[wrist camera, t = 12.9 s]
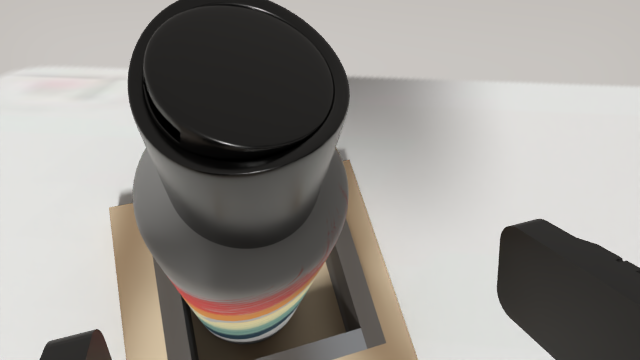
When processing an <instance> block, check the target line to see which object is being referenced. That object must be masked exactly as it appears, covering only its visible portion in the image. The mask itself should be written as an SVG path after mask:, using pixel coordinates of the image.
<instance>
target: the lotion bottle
mask: <svg viewBox="0 0 640 360" xmlns="http://www.w3.org/2000/svg"><path fill="white" fill-rule="evenodd" d="M128 96H129V103H130V107H131V111H132V115H133V117H134V120H135V123H136V125H137V128H138V130H139V132H140V135H141V137H142V139H143V141H144V144H145V146H146V149H145V151H144V152H143V154H142V157H141V159H140V161H139V164H138V167H137V169H136V173H135V178H134V184H133V207H134V214H135V219H136V223H137V226H138V229H139V231H140V234H141V236H142V238H143V240H144V242H145V244H146V246H147V248H148V249H149V251H150V252H151V254H152V255H153V257H154V258H155V260H156V261H157V263H158V264H159V266H160V267H161V268H162V270H163V271H164V273H165V274H166V275H167V277H168V278H169V279H170V281H171V282H172V283H173V285H174V286H175V287H176V289H177V290H178V291H179V293H180V294H181V295H182V297H183V298H184V300H185V301H186V302H187V304H188V305H189V306H190V308H191V309H192V310H193V312H194V313H195V314H196V316H197V317H198V318H199V320H200V321H201V322H202V323H203V325H204V326H205V327H206V328H207V329H208V330H209V331H210V332H211V333H213V334H214V335H215V336H217V337H218V338H220V339H222V340H224V341H227V342H230V343H234V344H253V343H258V342H261V341H264V340H266V339H268V338H270V337H272V336H273V335H275V334H276V333H277V332H279V331H280V330H281V329H282V328H283V327H284V326H285V325H286V324H287V322H288V321H289V320H290V318H291V317H292V315H293V314H294V312H295V310H296V309H297V307H298V306H299V304H300V302H301V301H302V299H303V297H304V296H305V294H306V292H307V291H308V289H309V288H310V286H311V284H312V283H313V281H314V279H315V278H316V276H317V274H318V273H319V271H320V270H321V268H322V266H323V265H324V263H325V261H326V260H327V258H328V256H329V254H330V253H331V251H332V249H333V247H334V246H335V244H336V242H337V240H338V237H339V235H340V233H341V231H342V228H343V225H344V222H345V219H346V214H347V209H348V198H349V188H348V179H347V174H346V170H345V167H344V164H343V161H342V159H341V156H340V154H339V152H338V150H337V149H336V145H337V142H338V139H339V136H340V133H341V130H342V127H343V124H344V122H345V118H346V115H347V111H348V107H349V98H350V95H349V84H348V79H347V76H346V73H345V70H344V68H343V66H342V64H341V62H340V60H339V58H338V57H337V55H336V53H335V52H334V51H333V49H332V48H331V46H330V45H329V44H328V43H327V42H326V41H325V39H324V38H323V37H322V36H321V35H320V34H319V33H318V32H317V31H316V30H315V29H313V28H312V27H311V26H310V25H309V24H308V23H306V22H305V21H304V20H303V19H301V18H300V17H298V16H297V15H295V14H294V13H292V12H290V11H289V10H287V9H285V8H283V7H281V6H280V5H278V4H275V3H273V2H271V1H269V0H178V1H176V2H175V3H173V4H171V5H169V6H168V7H167V8H165V9H164V10H162V11H161V12H160V13H159V14H158V15H157V16H156V17H155V18H154V19H153V20H152V21H151V22H150V23H149V24H148V26H147V27H146V29H145V30H144V32H143V33H142V35H141V36H140V38H139V40H138V42H137V44H136V46H135V49H134V51H133V54H132V58H131V61H130V66H129V72H128Z"/></svg>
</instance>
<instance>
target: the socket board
mask: <svg viewBox="0 0 640 360" xmlns="http://www.w3.org/2000/svg"><path fill="white" fill-rule="evenodd" d="M343 164H344V167H345V170H346V174H347V179H348V188H349V198H348V209H347V214H346V219H345V222H344V225H343V228H342V231H341V233H340V235H339V237H338V240H337V242H336V244H335V246H334V247H333V249H332V251H331V253H330V254H329V256H328V258H327V260H326V261H325V263H324V265H323V266H322V268H321V270H320V271H319V273H318V274H317V276H316V278H315V279H314V281H313V283H312V284H311V286H310V288H309V289H308V291H307V292H306V294H305V296H304V297H303V299H302V301H301V302H300V304H299V306H298V307H297V309H296V310H295V312H294V314H293V315H292V317H291V318H290V320H289V321H288V322H287V324H286V325H285V326H284V327H283V328H282V329H281V330H280V331H279V332H277V333H276V334H275V335H273V336H272V337H270V338H268V339H266V340H264V341H261V342H258V343H253V344H234V343H230V342H227V341H224V340H222V339H220V338H218V337H217V336H215V335H214V334H213V333H211V332H210V331H209V330H208V329H207V328H206V327H205V326H204V325H203V323H202V322H201V321H200V320H199V318H198V317H197V316H196V314H195V313H194V312H193V310H192V309H191V308H190V306H189V305H188V304H187V302H186V301H185V300H184V298H183V297H182V295H181V294H180V293H179V291H178V290H177V289H176V287H175V286H174V285H173V283H172V282H171V281H170V279H169V278H168V277H167V275H166V274H165V273H164V271H163V270H162V268H161V267H160V266H159V264H158V263H157V261H156V260H155V258H154V257H153V255H152V254H151V252H150V251H149V249H148V248H147V246H146V244H145V242H144V240H143V238H142V236H141V234H140V231H139V229H138V226H137V223H136V219H135V214H134V207H133V203H130V204H125V205H120V206H115V207H110V208H109V211H110V220H111V229H112V238H113V247H114V256H115V264H116V273H117V282H118V291H119V300H120V309H121V318H122V326H123V335H124V344H125V353H126V360H418V358H417V355H416V352H415V350H414V347H413V344H412V341H411V338H410V335H409V332H408V329H407V326H406V323H405V320H404V318H403V315H402V312H401V309H400V306H399V303H398V300H397V297H396V294H395V291H394V288H393V286H392V283H391V280H390V277H389V274H388V271H387V268H386V265H385V262H384V259H383V256H382V254H381V251H380V248H379V245H378V242H377V239H376V236H375V233H374V230H373V227H372V224H371V222H370V219H369V216H368V213H367V210H366V207H365V204H364V201H363V198H362V195H361V192H360V190H359V187H358V184H357V181H356V178H355V175H354V172H353V169H352V166H351V163H350V160H346V161H343Z"/></svg>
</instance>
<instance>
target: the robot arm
mask: <svg viewBox="0 0 640 360" xmlns="http://www.w3.org/2000/svg"><path fill="white" fill-rule="evenodd" d="M497 293H498V298H499V301H500V303H501V306H502V307H503V309H504V311H505V312H506V314H507V315H508V316H509V317H510V318H511V319H512V320H513V321H514V322H515V323H516V324H517V325H518V326H520V327H521V328H522V329H523V330H524V331H525V332H526V333H527V334H528V335H529V336H530V337H532V338H533V339H534V340H535V341H536V342H537V343H538V344H539V345H540V346H541V347H542V348H544V349H545V350H546V351H547V352H548V353H549V354H550V355H551V356H552V357H553V358H554V359H555V360H640V268H639V267H637V266H635V265H634V264H632V263H630V262H628V261H623V260H622V258H621V257H619V256H617V255H616V254H614V253H612V252H610V251H608V250H606V249H605V248H603V247H601V246H599V245H597V244H594V243H591V242H588V241H585V240H582V239H579V238H576V237H574V236H572V235H570V234H569V233H567V232H565V231H563V230H562V229H560V228H558V227H556V226H555V225H553V224H551V223H549V222H547V221H545V220H543V219H536V220H532V221H528V222H524V223H520V224H516V225H512V226H508V227H506V228H504V230H503V231H502V233H501V237H500V250H499V265H498V280H497ZM40 360H112V359H111V356H110V353H109V350H108V347H107V345H106V342H105V339H104V336H103V335H102V333H101V331H99V330H98V329H96V330H92V331H88V332H84V333H80V334H76V335H72V336H68V337H64V338H60V339H56V340H52V341H49V342H48V343H47V344H46V346H45V348H44V350H43V353H42V355H41V358H40Z"/></svg>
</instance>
